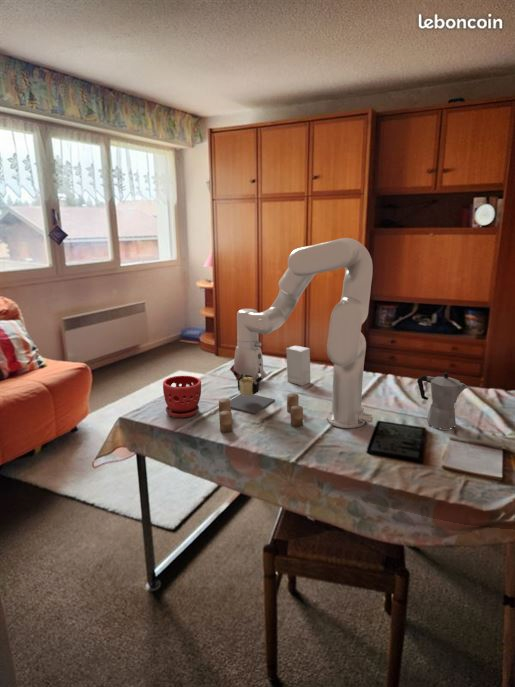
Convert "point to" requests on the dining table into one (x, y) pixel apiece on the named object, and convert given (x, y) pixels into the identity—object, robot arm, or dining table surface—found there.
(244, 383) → the tan faceted block
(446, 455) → the dining table surface
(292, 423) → the cylinder
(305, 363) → the skincare box
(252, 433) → the dining table surface
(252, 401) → the mat
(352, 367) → the robot arm
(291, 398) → the cylinder
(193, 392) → the plant pot
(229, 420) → the cylinder
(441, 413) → the coffeepot
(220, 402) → the cylinder
